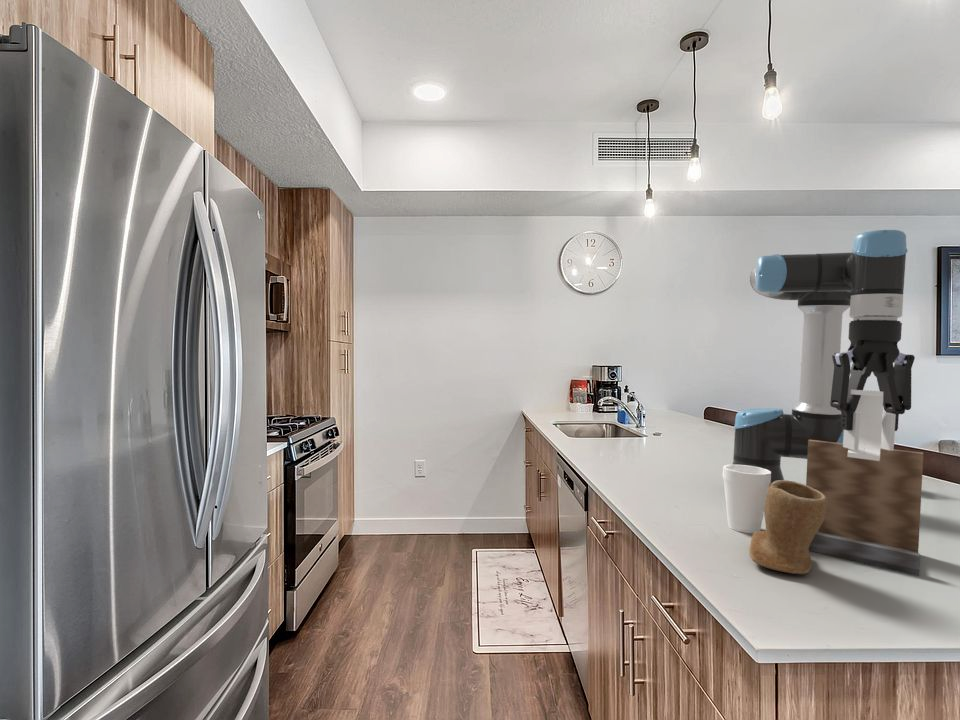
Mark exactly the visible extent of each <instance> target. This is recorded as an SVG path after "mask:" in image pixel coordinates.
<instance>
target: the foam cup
mask: <svg viewBox="0 0 960 720" xmlns="http://www.w3.org/2000/svg"><path fill="white" fill-rule="evenodd" d="M722 479H723V487H724V496H725V497H724V498H725V505H726V508H725V509H726V518H727V524H728V525H727V526H728V528H730V529H732V530H733V531H736V532H739V533H745V534H754V533H755V532H759V531H761V528H762V524H763V519H764V507H765V501H766V495H767V491H768V488H769V485H770V483H771V471H769V470H767V469H763V468H760V467H754V466H748V465H732V464H724V465H723V466H722Z"/></svg>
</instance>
